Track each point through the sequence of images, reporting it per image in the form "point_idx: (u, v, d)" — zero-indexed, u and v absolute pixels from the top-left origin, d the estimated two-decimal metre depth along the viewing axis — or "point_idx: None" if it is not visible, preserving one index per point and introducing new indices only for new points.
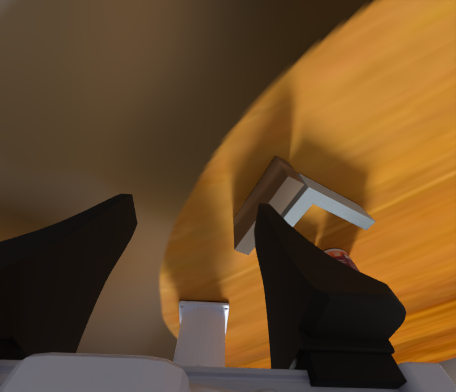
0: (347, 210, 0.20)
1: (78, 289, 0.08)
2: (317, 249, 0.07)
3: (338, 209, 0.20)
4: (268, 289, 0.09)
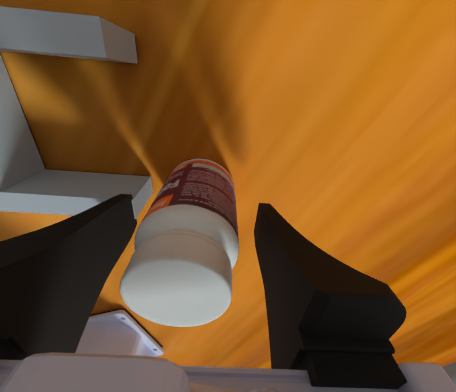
0: (0, 15, 0.07)
1: (78, 289, 0.08)
2: (317, 249, 0.07)
3: None
4: (268, 289, 0.09)
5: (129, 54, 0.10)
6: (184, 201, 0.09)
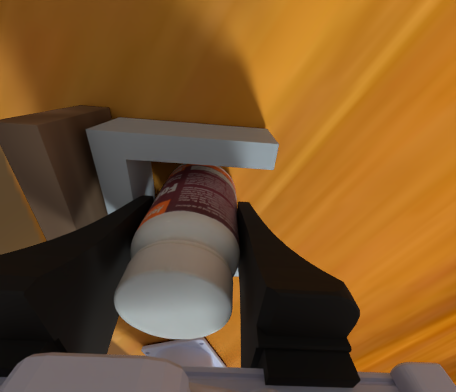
0: (200, 144, 0.09)
1: (109, 291, 0.08)
2: (285, 247, 0.07)
3: (182, 151, 0.09)
4: (242, 288, 0.09)
5: None
6: (181, 207, 0.08)
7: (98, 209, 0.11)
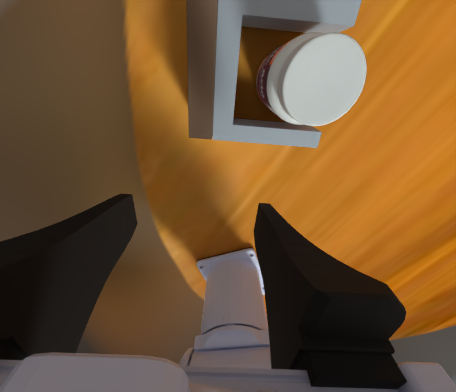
0: None
1: (78, 289, 0.08)
2: (317, 249, 0.07)
3: (288, 6, 0.12)
4: (268, 289, 0.09)
5: None
6: None
7: (215, 70, 0.14)
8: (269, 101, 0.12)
